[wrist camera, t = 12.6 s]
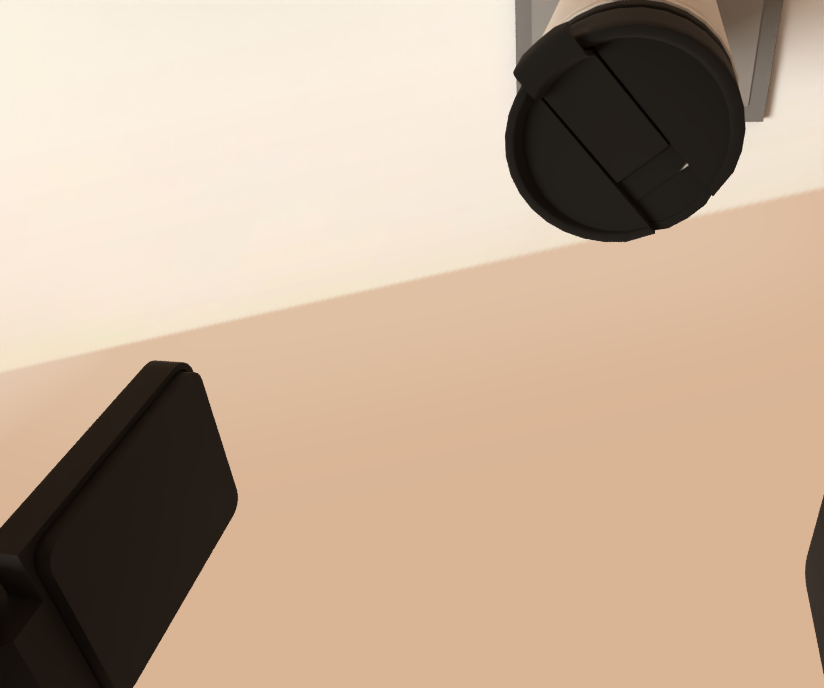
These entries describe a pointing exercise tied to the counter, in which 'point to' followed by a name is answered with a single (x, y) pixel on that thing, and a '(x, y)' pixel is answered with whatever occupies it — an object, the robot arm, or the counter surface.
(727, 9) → the mat
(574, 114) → the travel mug
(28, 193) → the counter surface
